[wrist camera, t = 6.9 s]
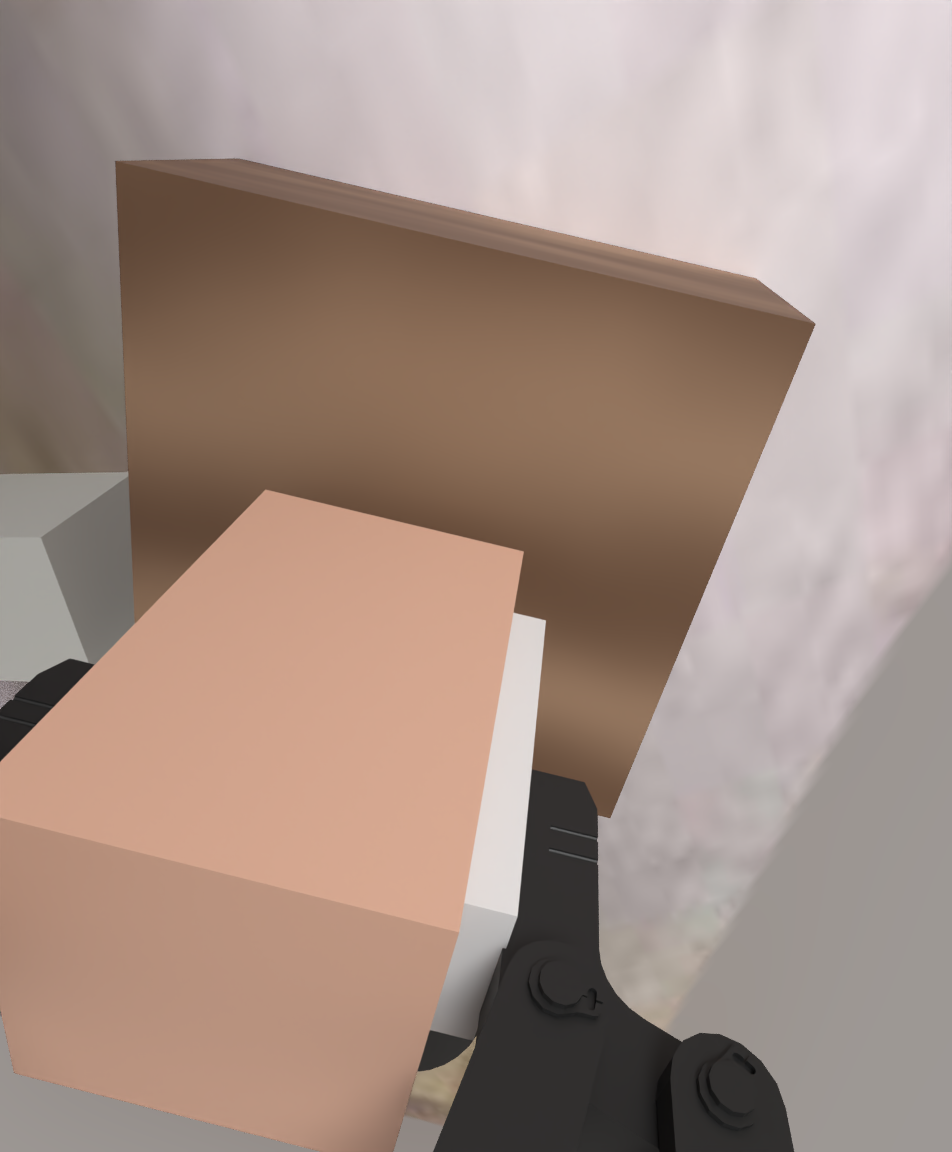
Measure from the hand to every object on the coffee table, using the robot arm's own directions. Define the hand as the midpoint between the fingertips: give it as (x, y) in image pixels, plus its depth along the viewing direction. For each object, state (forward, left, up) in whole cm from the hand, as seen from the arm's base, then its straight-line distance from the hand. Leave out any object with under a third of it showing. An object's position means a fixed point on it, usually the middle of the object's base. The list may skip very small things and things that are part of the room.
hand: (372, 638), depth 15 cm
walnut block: (0, 0, -10) cm, 10 cm away
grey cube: (+6, -12, -10) cm, 17 cm away
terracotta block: (0, 0, 0) cm, 0 cm away
